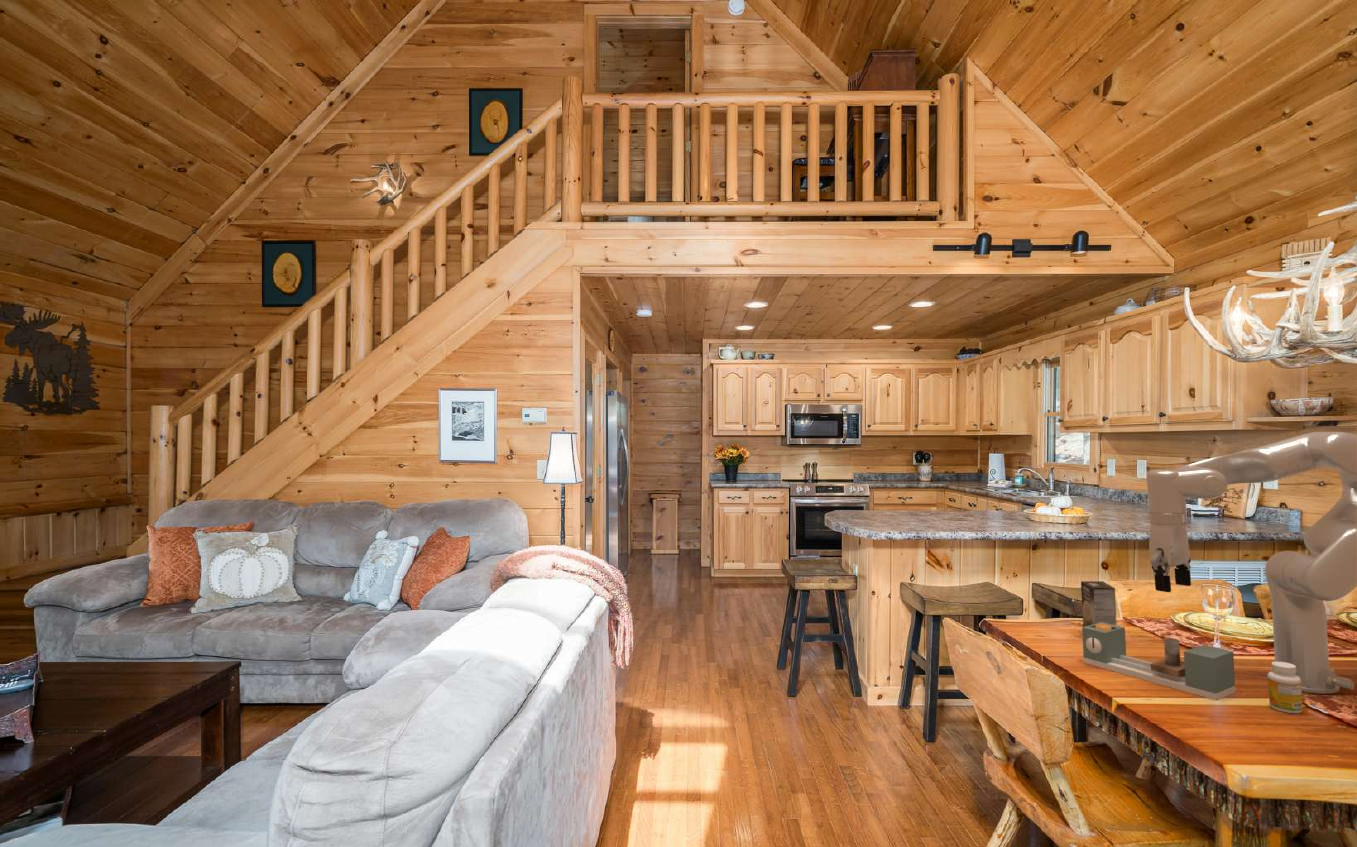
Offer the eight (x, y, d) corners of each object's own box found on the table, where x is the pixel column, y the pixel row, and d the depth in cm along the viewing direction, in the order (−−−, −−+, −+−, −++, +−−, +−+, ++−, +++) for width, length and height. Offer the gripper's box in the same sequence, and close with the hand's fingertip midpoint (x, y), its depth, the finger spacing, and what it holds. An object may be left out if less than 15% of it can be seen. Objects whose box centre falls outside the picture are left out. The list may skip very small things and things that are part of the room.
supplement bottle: (1268, 701, 149) (1266, 658, 149) (1301, 707, 145) (1299, 663, 145) (1270, 710, 144) (1267, 665, 145) (1304, 715, 141) (1301, 670, 141)
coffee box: (1082, 632, 203) (1079, 580, 203) (1105, 633, 201) (1102, 580, 202) (1094, 642, 194) (1092, 587, 194) (1118, 642, 192) (1116, 587, 193)
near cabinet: (1235, 685, 155) (1233, 651, 155) (1215, 693, 151) (1213, 658, 151) (1201, 676, 161) (1199, 643, 161) (1181, 684, 157) (1180, 650, 157)
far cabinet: (1126, 657, 176) (1124, 627, 176) (1105, 663, 172) (1104, 633, 172) (1103, 651, 181) (1101, 622, 181) (1082, 657, 177) (1080, 627, 177)
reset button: (1114, 637, 176) (1114, 625, 176) (1106, 640, 174) (1106, 628, 174) (1100, 634, 179) (1100, 622, 179) (1093, 636, 177) (1092, 624, 177)
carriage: (1195, 670, 161) (1194, 639, 161) (1178, 677, 158) (1176, 645, 158) (1168, 663, 167) (1166, 633, 167) (1150, 669, 163) (1149, 639, 163)
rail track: (1235, 691, 155) (1234, 681, 155) (1216, 700, 150) (1215, 689, 151) (1103, 656, 181) (1102, 647, 181) (1083, 662, 177) (1083, 653, 177)
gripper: (1168, 514, 172) (1173, 580, 171) (1133, 521, 163) (1138, 591, 163) (1202, 516, 165) (1208, 585, 165) (1167, 524, 157) (1173, 596, 156)
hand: (1173, 588), depth 164 cm, fingers open, 9 cm apart
